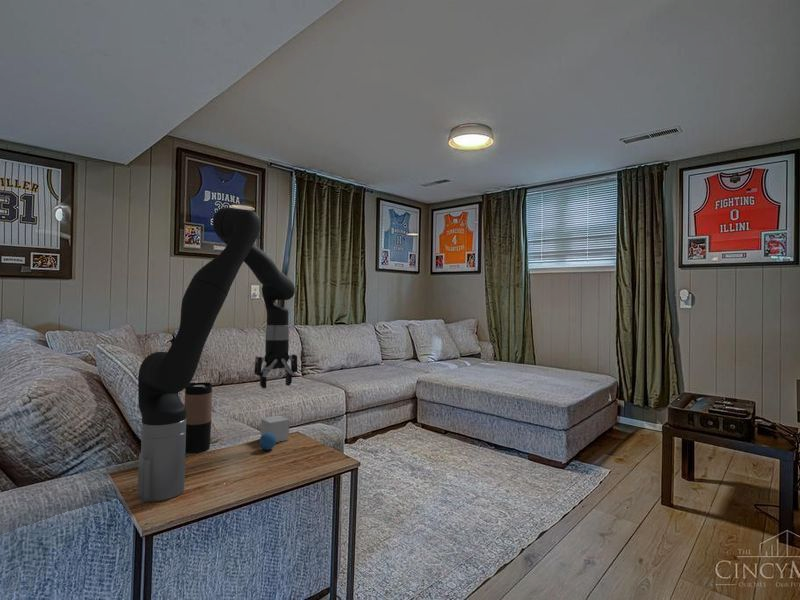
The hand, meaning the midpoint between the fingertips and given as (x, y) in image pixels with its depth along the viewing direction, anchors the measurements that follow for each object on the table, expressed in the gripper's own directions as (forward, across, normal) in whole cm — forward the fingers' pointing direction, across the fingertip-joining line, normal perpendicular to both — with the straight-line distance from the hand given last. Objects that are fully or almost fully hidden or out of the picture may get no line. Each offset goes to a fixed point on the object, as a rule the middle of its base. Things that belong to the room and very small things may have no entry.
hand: (276, 386), depth 141 cm
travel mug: (+18, -23, +5) cm, 30 cm away
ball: (+15, -6, -8) cm, 18 cm away
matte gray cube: (+18, 0, 0) cm, 18 cm away
